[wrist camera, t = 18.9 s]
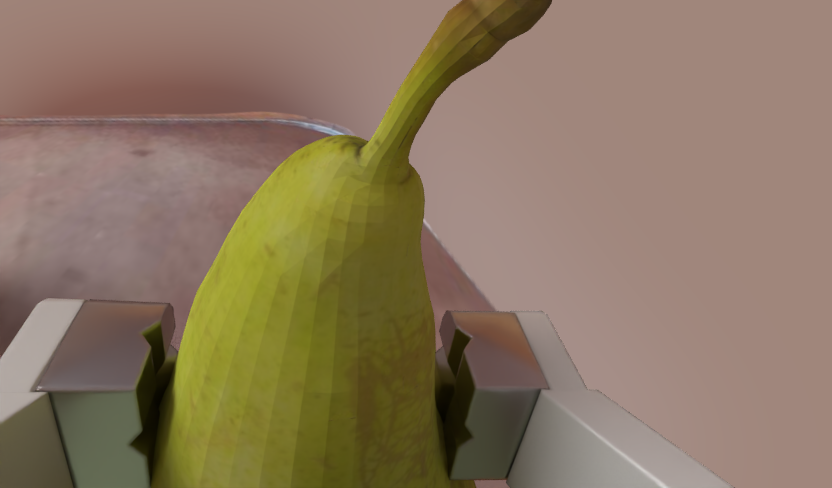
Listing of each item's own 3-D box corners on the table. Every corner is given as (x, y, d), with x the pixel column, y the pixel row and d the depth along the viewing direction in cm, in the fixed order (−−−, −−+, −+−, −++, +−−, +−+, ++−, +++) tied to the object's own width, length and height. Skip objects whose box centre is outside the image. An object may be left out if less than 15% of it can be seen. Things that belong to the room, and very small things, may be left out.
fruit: (233, 459, 14) (220, -123, 7) (465, 540, 13) (670, -40, 7) (39, 752, 9) (-469, -224, 3) (393, 913, 8) (907, 43, 2)
